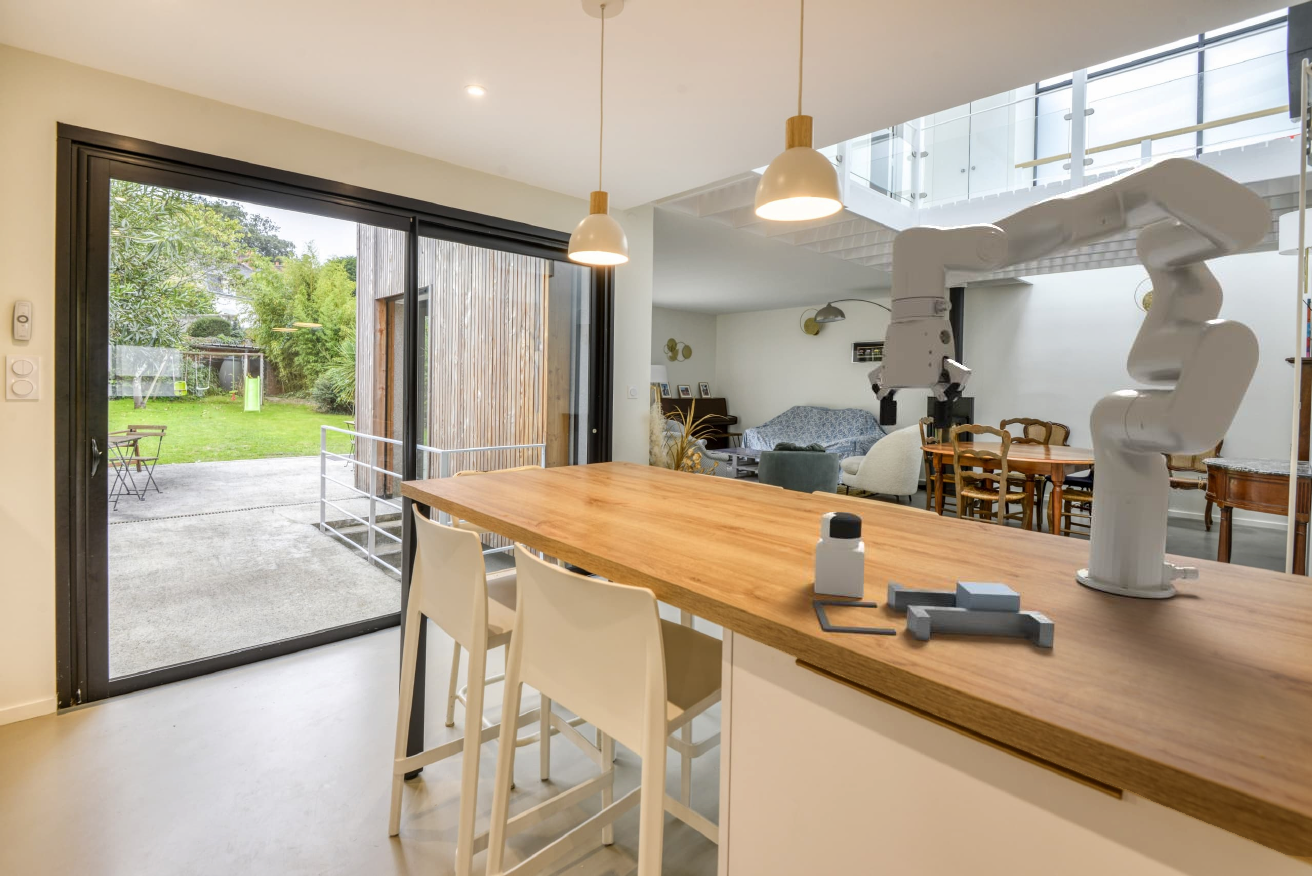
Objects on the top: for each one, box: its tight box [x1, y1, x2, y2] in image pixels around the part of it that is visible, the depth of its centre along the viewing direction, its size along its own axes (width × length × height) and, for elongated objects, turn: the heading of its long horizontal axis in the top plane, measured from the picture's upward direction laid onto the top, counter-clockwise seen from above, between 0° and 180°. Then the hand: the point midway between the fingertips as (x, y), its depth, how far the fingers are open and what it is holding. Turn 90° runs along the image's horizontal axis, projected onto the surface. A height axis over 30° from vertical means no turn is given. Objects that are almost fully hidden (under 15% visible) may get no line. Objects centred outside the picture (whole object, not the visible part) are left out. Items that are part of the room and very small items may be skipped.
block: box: [955, 581, 1021, 611], centre depth 80 cm, size 6×5×5 cm
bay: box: [812, 599, 897, 635], centre depth 82 cm, size 9×11×1 cm
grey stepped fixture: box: [886, 581, 1055, 648], centre depth 81 cm, size 16×14×3 cm
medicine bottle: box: [814, 511, 866, 599], centre depth 94 cm, size 7×7×12 cm
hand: (913, 426), depth 91 cm, fingers open, 9 cm apart
